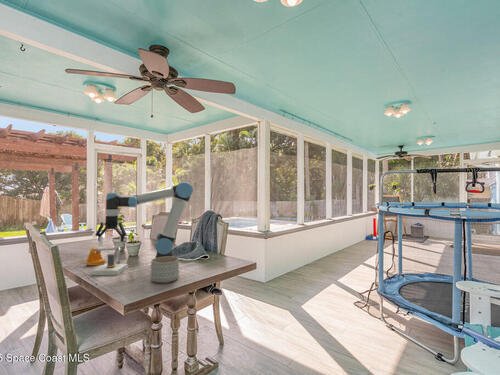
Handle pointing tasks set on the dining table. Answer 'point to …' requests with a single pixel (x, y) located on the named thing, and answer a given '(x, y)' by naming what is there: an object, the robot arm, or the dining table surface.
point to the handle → (116, 253)
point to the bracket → (94, 258)
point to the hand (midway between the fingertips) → (110, 246)
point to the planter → (164, 269)
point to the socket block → (109, 269)
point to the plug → (110, 260)
